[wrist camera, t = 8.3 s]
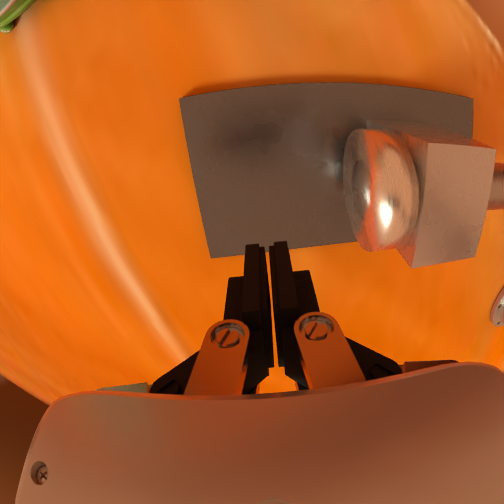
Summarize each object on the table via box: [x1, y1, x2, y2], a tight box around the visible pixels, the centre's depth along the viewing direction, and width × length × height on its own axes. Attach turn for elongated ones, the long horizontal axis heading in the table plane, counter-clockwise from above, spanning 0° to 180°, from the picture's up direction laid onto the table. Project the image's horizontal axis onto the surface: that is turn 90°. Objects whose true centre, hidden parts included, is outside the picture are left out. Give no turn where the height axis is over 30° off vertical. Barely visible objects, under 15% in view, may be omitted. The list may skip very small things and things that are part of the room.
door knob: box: [343, 129, 504, 252], centre depth 17 cm, size 14×8×8 cm, turn 97°
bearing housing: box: [179, 83, 496, 268], centre depth 18 cm, size 26×14×10 cm, turn 97°
